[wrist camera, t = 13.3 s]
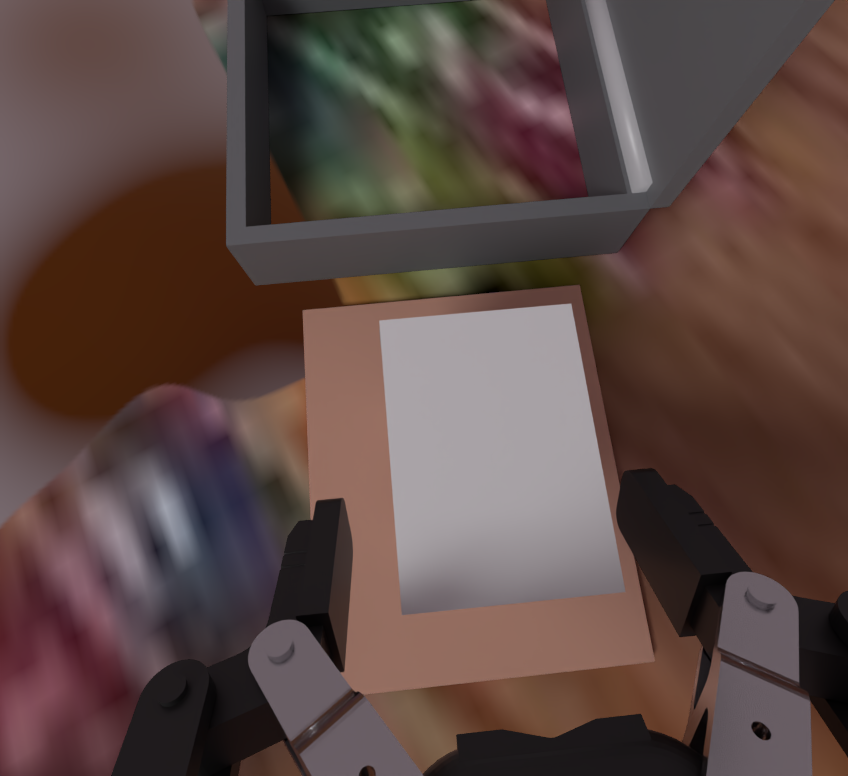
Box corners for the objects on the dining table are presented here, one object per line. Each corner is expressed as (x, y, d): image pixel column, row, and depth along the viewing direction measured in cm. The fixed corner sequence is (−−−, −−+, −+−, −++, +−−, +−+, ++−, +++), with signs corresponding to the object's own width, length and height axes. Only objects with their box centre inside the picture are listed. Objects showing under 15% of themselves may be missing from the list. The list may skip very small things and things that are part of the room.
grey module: (511, 380, 21) (572, 289, 12) (537, 555, 19) (630, 591, 11) (394, 391, 21) (374, 306, 12) (409, 568, 19) (397, 615, 10)
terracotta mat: (577, 288, 23) (579, 284, 22) (650, 658, 19) (655, 661, 18) (304, 313, 22) (302, 310, 22) (319, 695, 18) (317, 699, 18)
